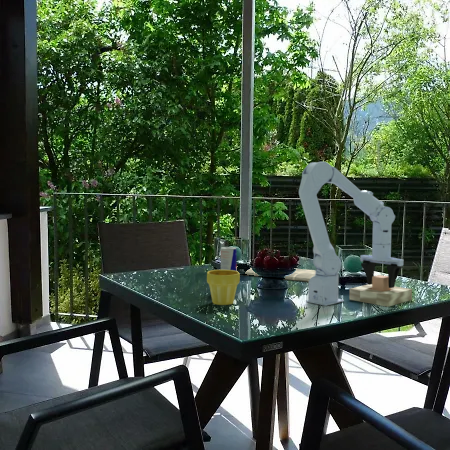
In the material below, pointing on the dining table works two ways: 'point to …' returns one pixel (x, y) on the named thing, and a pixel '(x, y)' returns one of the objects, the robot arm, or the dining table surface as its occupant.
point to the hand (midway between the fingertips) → (380, 285)
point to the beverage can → (228, 258)
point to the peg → (380, 283)
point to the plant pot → (223, 285)
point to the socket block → (380, 295)
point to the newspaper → (297, 275)
